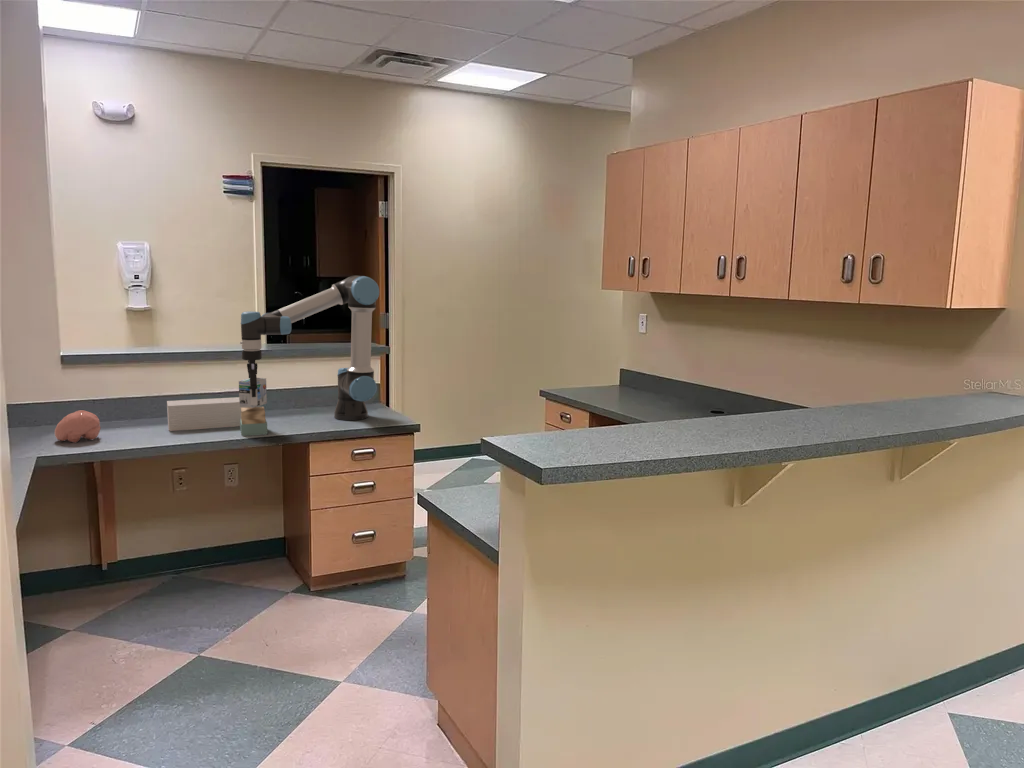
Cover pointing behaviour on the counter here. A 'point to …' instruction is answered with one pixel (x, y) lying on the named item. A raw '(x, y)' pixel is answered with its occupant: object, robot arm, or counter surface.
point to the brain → (78, 426)
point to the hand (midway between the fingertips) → (253, 401)
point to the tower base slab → (253, 428)
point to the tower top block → (253, 415)
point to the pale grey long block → (203, 413)
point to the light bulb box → (245, 392)
